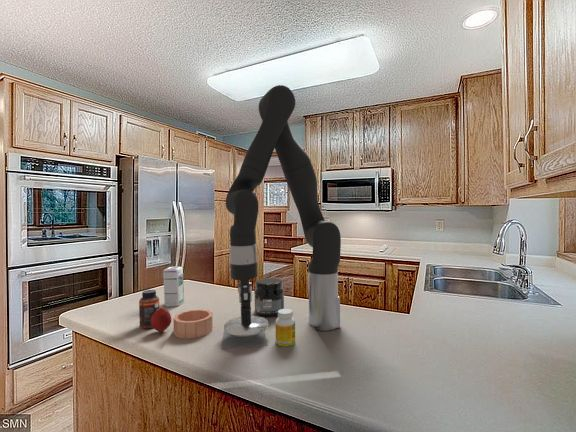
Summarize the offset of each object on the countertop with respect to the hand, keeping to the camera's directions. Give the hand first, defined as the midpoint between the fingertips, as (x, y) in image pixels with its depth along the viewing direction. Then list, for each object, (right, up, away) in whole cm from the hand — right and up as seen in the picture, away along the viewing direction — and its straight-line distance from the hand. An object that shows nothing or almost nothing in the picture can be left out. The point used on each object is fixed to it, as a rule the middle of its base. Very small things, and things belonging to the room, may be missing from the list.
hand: (246, 321), depth 86 cm
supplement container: (+5, -5, +22) cm, 23 cm away
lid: (0, -2, 0) cm, 2 cm away
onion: (-27, -6, +7) cm, 28 cm away
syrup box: (-33, -5, +35) cm, 48 cm away
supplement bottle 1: (-33, -6, +13) cm, 36 cm away
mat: (-1, -6, 0) cm, 6 cm away
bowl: (-17, -6, +6) cm, 19 cm away
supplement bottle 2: (+11, -6, -3) cm, 13 cm away
